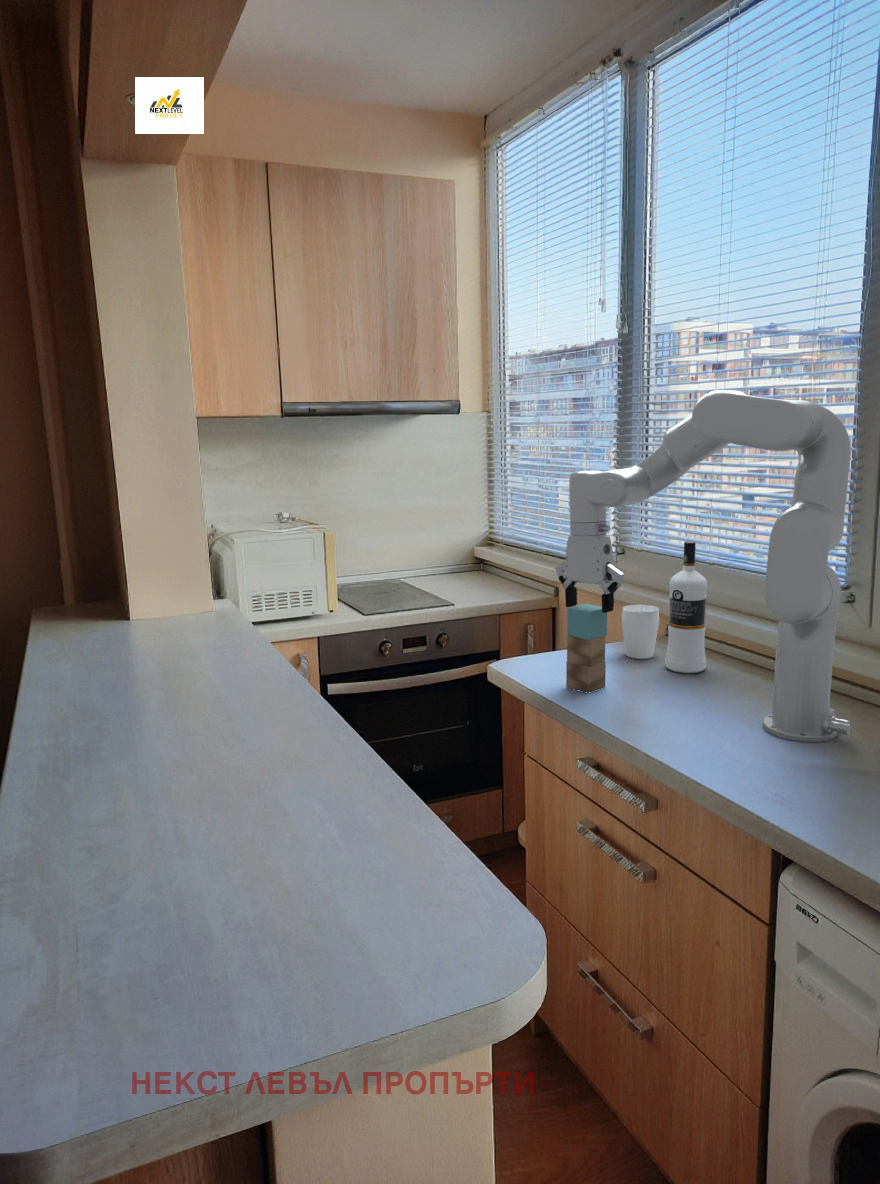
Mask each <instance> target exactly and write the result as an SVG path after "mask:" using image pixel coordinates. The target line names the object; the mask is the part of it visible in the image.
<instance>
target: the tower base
mask: <svg viewBox="0 0 880 1184" xmlns="http://www.w3.org/2000/svg"><path fill="white" fill-rule="evenodd" d="M565 662H566V667H565V668H566V671H565V673H566V674H565V675H566V676H565V677H566V678H565V679H566V682H565V684H566V685H565V688H566V687H568V688H567V689H569V688H571V689H570V690H573V689H575V690H574V691H576V690H580V691H583V692H587V693H589V692H592V691H595V690H597V691H599V690H598V689H600V690H602V689H601V688H603V689H605V688H606V672H607V671H606V663H607V661H606V660H605V661H603V662H601V663H599V664H597V665H594V666H592V667H589V666H584V665H578V664H573V663H568V662H567V661H565ZM604 687H605V688H604ZM580 691H579V692H580ZM583 692H582V693H583ZM595 692H596V691H595ZM587 693H586V694H587ZM592 693H593V692H592ZM589 694H590V693H589Z"/></svg>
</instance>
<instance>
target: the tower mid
mask: <svg viewBox="0 0 880 1184" xmlns="http://www.w3.org/2000/svg"><path fill="white" fill-rule="evenodd" d="M606 636H607V635H604V636H601V637H597V638H594V639H591V640H588V639H583V638H578V637H574V636H569V635H567V636H566V662H568V663H573V664H578V665H584V666H589V667H592V666H594V665H597V664H599V663H601V662H603V661H606Z"/></svg>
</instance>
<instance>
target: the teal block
mask: <svg viewBox="0 0 880 1184" xmlns="http://www.w3.org/2000/svg"><path fill="white" fill-rule="evenodd" d="M566 608H567V609H566V610H567V617H566V620H567V623H566V624H567V625H566V626H567V628H566V635H567V636H568V635H569V636H574V637H578V638H583V639H588V640H591V639H594V638H597V637H601V636H604V635H606V636H607V633H608V612H607V613H603V612H602V605H601V606H600V605H595V604H588V603H582V604H577V605H576V606H572V607H566Z"/></svg>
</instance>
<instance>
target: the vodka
mask: <svg viewBox="0 0 880 1184" xmlns="http://www.w3.org/2000/svg"><path fill="white" fill-rule="evenodd" d="M696 545H697V542H696V541H692V540H688V541H687V540H686V541H684V542H683V558H682V559H683V563H682V564H683V566H682V570H680V571H678V572H677V573H676V574H675V575H673V576H672V577H670V581H669V585H668V588H669V593H668V595H669V611H668V612H669V616H668V625H667V628H668V640H667V648H666V654H665V657H664V658H665V659H664V664H665V665H664V666H666V667H665V668H667V669H669V670H670V671H672V672H675V673H680V674H697V673H701V672H702V671H704V670H705V669H706V667H707V657H706V648H705V644H706V643H705V635H706V630H707V628H706V607H707V597H708V594H707V591H708V581H707V579H706V577H704V576H703V575H702V574H701V573H699V572H698V571H697V570H696V547H697V546H696Z"/></svg>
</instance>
